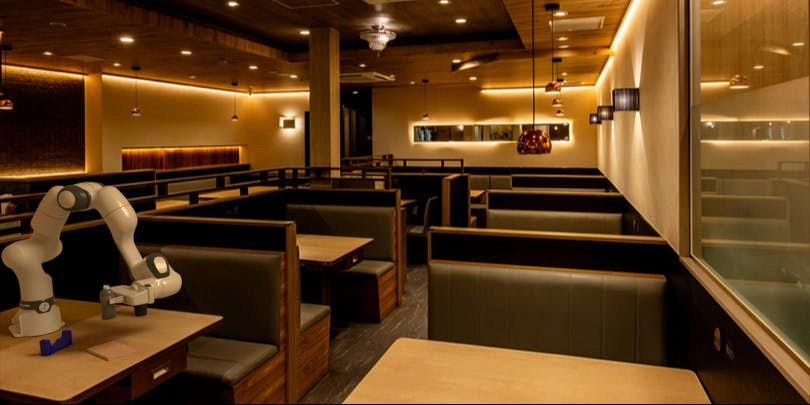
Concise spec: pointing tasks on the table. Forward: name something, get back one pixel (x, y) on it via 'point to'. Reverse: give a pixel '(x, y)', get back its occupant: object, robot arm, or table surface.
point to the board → (111, 350)
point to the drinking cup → (140, 310)
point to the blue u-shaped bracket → (56, 343)
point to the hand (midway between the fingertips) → (104, 300)
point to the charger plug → (107, 304)
